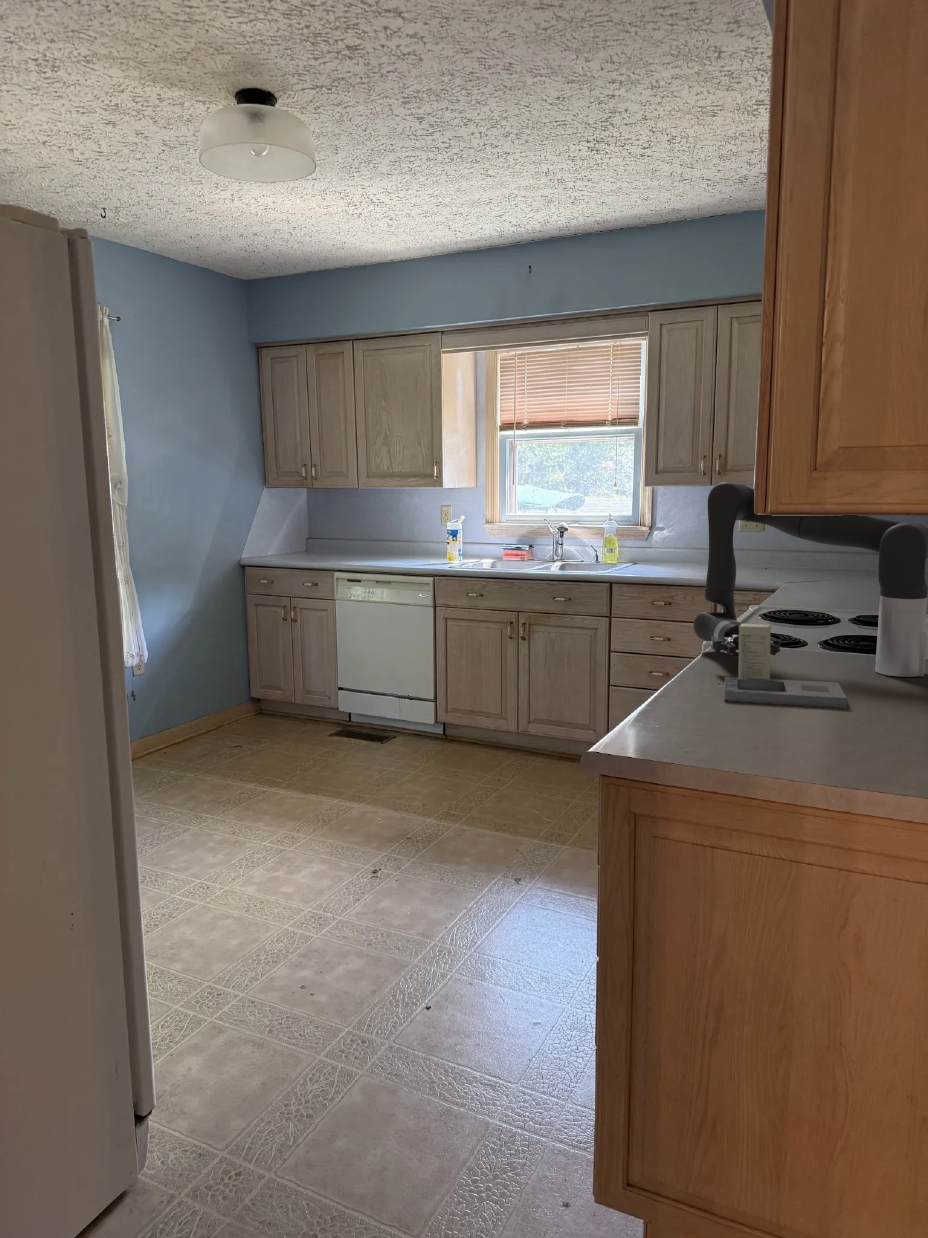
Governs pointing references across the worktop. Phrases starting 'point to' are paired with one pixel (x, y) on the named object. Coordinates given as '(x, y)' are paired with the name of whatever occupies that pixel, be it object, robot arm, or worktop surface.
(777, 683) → the grey recessed board
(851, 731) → the worktop surface
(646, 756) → the worktop surface
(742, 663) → the skincare box
